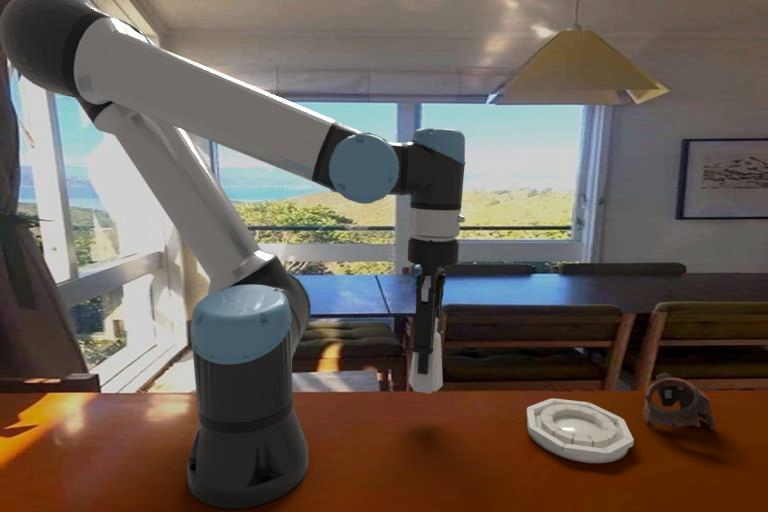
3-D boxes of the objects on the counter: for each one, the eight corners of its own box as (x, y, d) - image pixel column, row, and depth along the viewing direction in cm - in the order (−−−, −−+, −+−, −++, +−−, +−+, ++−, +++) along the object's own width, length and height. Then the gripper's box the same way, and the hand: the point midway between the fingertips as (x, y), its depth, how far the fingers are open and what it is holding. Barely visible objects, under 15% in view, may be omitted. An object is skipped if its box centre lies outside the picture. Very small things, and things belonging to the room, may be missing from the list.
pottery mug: (733, 444, 69) (722, 405, 66) (666, 463, 71) (652, 426, 68) (689, 387, 79) (678, 352, 76) (632, 405, 82) (619, 371, 79)
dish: (530, 454, 65) (531, 441, 65) (524, 405, 78) (525, 394, 78) (641, 470, 62) (642, 456, 61) (615, 415, 75) (617, 404, 75)
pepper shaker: (442, 394, 71) (446, 325, 69) (406, 390, 72) (409, 321, 70) (443, 378, 76) (447, 313, 74) (410, 375, 77) (413, 311, 75)
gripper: (453, 249, 60) (442, 415, 64) (463, 230, 78) (454, 362, 82) (396, 244, 62) (389, 407, 66) (418, 227, 79) (412, 357, 84)
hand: (425, 382), depth 74 cm, fingers closed on pepper shaker, 5 cm apart
